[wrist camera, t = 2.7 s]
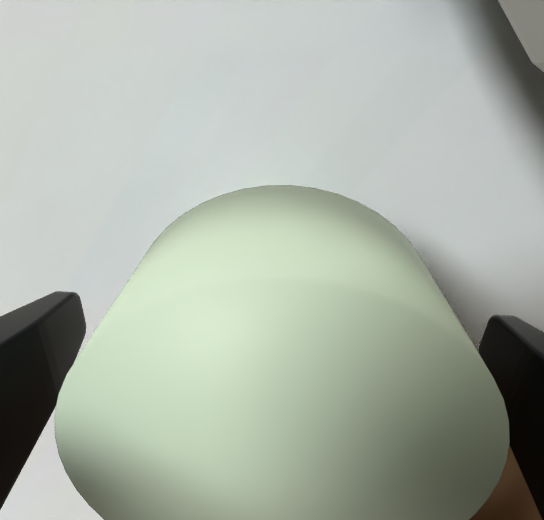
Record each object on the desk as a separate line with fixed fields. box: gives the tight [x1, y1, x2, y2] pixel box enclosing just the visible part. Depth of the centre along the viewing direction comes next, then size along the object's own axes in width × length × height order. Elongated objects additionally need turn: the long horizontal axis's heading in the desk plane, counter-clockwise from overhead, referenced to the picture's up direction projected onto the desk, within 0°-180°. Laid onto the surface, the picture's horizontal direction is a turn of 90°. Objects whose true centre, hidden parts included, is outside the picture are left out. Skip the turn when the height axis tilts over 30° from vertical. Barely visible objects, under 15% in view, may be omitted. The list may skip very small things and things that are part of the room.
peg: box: [55, 185, 510, 520], centre depth 8 cm, size 6×6×6 cm
